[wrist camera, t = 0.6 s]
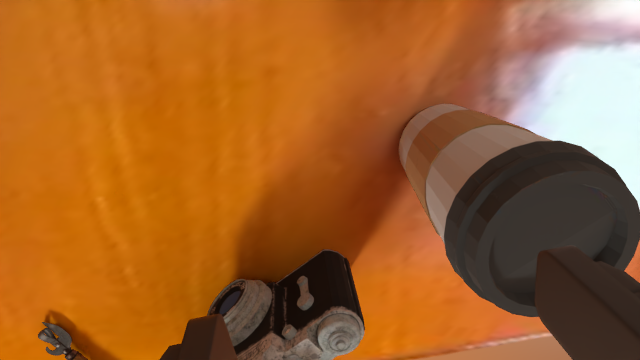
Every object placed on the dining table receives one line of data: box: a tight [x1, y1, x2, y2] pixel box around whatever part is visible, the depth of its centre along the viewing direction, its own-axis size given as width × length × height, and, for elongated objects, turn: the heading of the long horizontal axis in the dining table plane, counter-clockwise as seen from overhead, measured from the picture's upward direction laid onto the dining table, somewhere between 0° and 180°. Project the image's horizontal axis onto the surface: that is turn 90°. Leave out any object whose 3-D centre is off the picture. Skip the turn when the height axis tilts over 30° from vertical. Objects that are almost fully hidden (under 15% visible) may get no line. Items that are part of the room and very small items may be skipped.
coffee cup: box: [399, 104, 640, 317], centre depth 25 cm, size 8×8×15 cm
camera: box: [207, 250, 365, 360], centre depth 31 cm, size 15×7×10 cm, turn 128°
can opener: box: [38, 322, 88, 360], centre depth 36 cm, size 9×2×1 cm, turn 27°
